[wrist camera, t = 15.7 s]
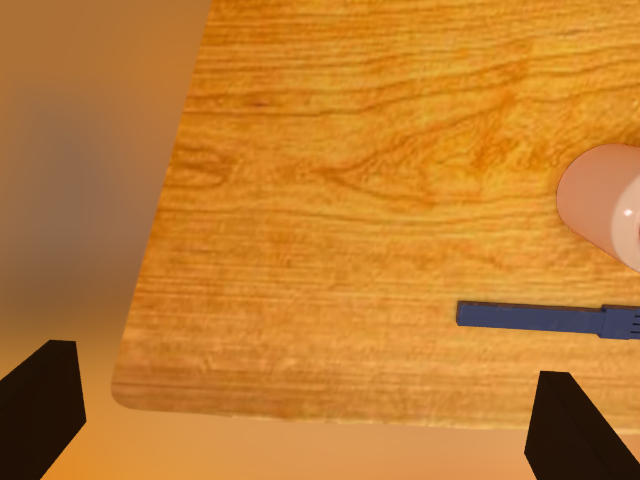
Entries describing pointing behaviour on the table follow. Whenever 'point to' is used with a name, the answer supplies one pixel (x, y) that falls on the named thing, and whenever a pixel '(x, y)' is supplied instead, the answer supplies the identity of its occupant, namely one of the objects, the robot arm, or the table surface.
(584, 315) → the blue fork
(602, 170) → the pill bottle
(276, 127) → the table surface
